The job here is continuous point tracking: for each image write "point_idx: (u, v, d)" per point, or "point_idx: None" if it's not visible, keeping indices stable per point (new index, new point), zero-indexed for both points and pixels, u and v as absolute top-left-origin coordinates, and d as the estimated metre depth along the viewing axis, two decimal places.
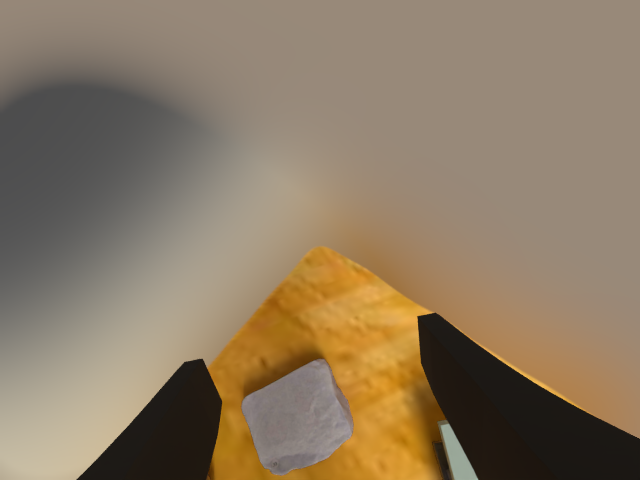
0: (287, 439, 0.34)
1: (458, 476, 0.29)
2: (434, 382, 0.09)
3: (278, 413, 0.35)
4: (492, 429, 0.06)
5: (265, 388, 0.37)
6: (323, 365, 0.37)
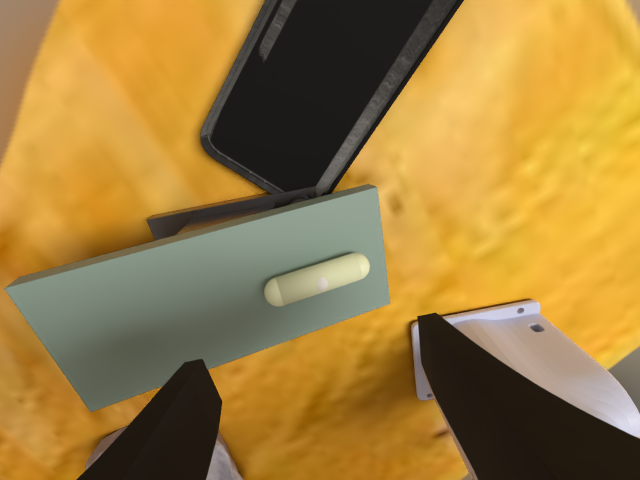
0: None
1: None
2: (434, 382, 0.09)
3: None
4: (492, 429, 0.06)
5: None
6: None
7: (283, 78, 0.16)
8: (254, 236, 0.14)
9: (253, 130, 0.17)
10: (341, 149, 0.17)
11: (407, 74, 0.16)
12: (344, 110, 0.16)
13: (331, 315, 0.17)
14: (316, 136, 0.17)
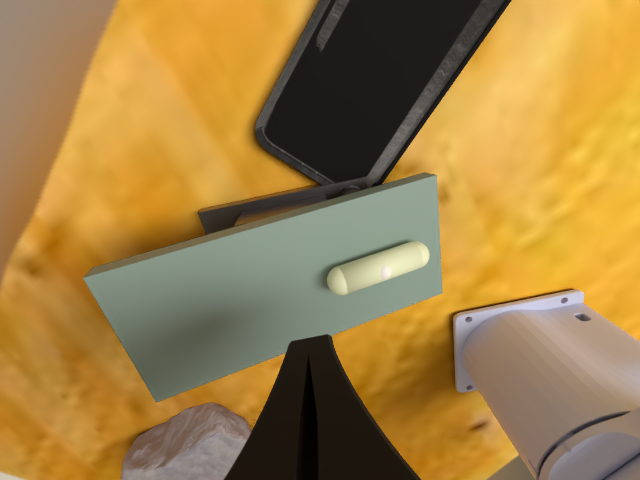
0: None
1: (246, 360, 0.15)
2: None
3: None
4: None
5: None
6: (124, 477, 0.23)
7: (339, 68, 0.16)
8: (318, 225, 0.14)
9: (307, 121, 0.17)
10: (393, 139, 0.17)
11: (462, 61, 0.16)
12: (398, 99, 0.16)
13: (386, 305, 0.17)
14: (369, 126, 0.17)
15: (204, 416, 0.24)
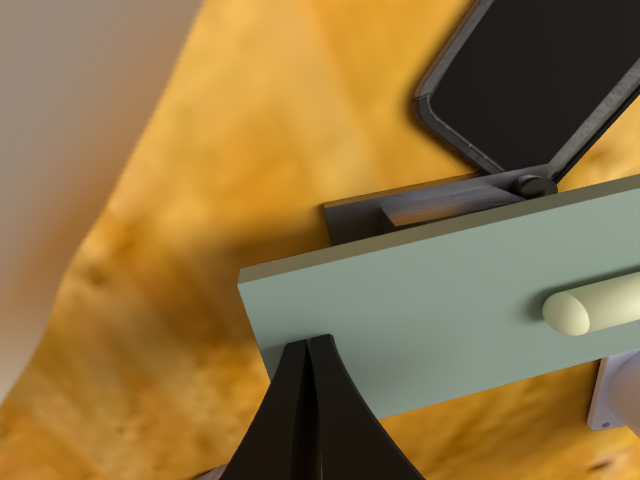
0: None
1: (406, 403, 0.12)
2: None
3: None
4: None
5: None
6: None
7: (548, 10, 0.11)
8: (549, 231, 0.10)
9: (489, 87, 0.12)
10: (595, 112, 0.13)
11: None
12: (615, 57, 0.12)
13: (599, 347, 0.12)
14: (568, 95, 0.12)
15: None
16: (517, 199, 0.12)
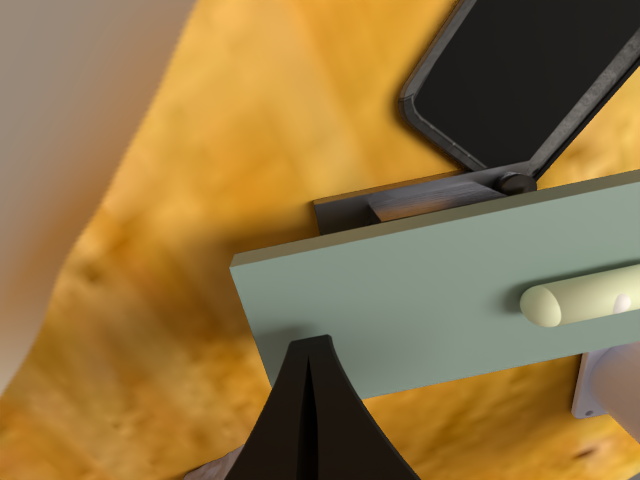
0: None
1: (389, 385, 0.12)
2: None
3: None
4: None
5: None
6: None
7: (525, 15, 0.12)
8: (525, 226, 0.10)
9: (470, 88, 0.13)
10: (572, 112, 0.13)
11: None
12: (589, 59, 0.13)
13: (582, 342, 0.12)
14: (546, 95, 0.13)
15: None
16: (497, 195, 0.12)
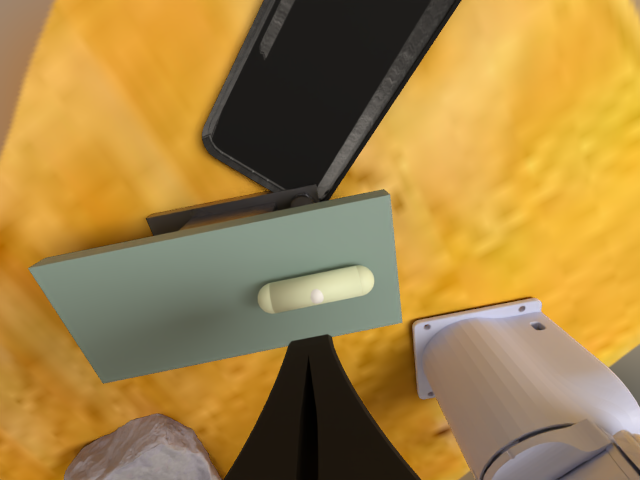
0: None
1: (184, 360, 0.16)
2: None
3: None
4: None
5: None
6: None
7: (284, 75, 0.15)
8: (250, 239, 0.14)
9: (255, 129, 0.16)
10: (344, 146, 0.17)
11: (410, 69, 0.16)
12: (346, 107, 0.16)
13: (332, 327, 0.16)
14: (318, 134, 0.17)
15: (147, 427, 0.24)
16: None
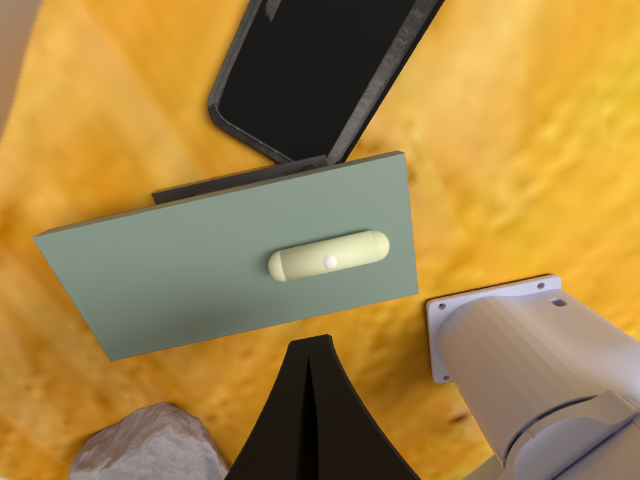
0: None
1: (193, 335, 0.15)
2: None
3: None
4: None
5: None
6: (70, 479, 0.22)
7: (291, 38, 0.15)
8: (259, 203, 0.13)
9: (262, 97, 0.16)
10: (354, 114, 0.16)
11: (421, 28, 0.15)
12: (356, 71, 0.16)
13: (346, 299, 0.15)
14: (327, 101, 0.16)
15: (153, 416, 0.24)
16: None
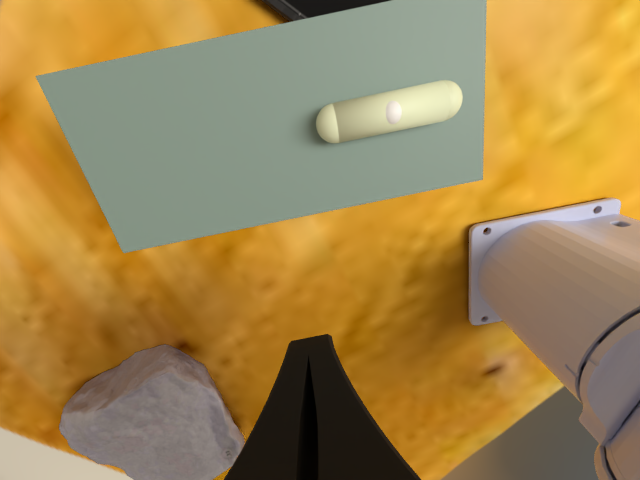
0: (191, 450, 0.23)
1: (220, 223, 0.13)
2: None
3: (159, 464, 0.23)
4: None
5: (132, 477, 0.24)
6: (62, 421, 0.20)
7: None
8: (309, 43, 0.11)
9: None
10: None
11: None
12: None
13: (399, 183, 0.13)
14: None
15: (154, 357, 0.21)
16: None
